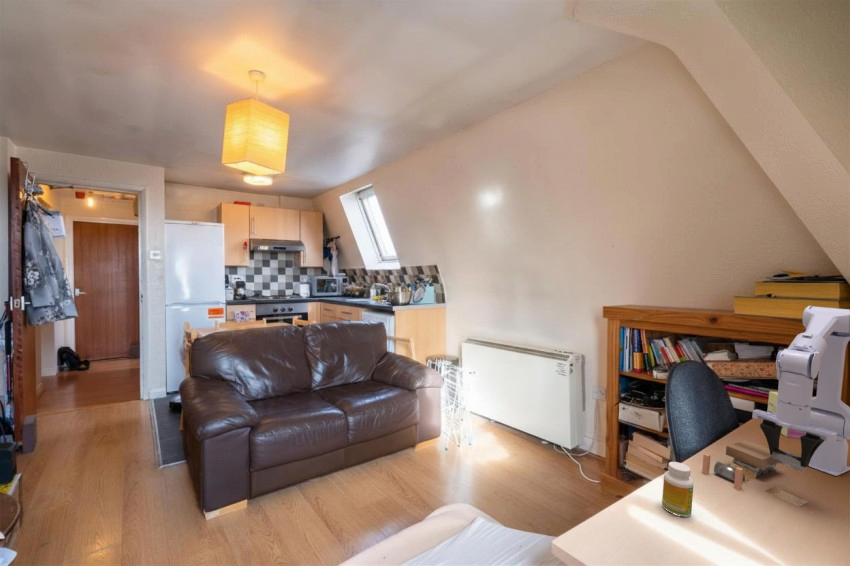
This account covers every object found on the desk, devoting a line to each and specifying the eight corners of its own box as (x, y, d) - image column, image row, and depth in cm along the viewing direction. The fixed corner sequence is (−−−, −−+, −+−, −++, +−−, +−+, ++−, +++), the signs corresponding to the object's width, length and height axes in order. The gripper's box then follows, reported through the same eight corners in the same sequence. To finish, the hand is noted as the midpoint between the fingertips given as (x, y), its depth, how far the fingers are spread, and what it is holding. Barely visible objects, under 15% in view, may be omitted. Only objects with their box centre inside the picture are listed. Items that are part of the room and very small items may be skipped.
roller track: (752, 460, 109) (753, 449, 109) (830, 492, 95) (832, 479, 95) (712, 474, 101) (713, 462, 101) (791, 510, 87) (792, 496, 86)
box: (807, 439, 125) (811, 403, 124) (786, 437, 126) (790, 401, 125) (784, 426, 135) (788, 392, 134) (765, 424, 136) (768, 391, 135)
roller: (771, 461, 93) (772, 449, 93) (778, 459, 94) (779, 447, 94) (798, 472, 89) (799, 459, 88) (805, 469, 90) (806, 456, 90)
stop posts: (704, 472, 102) (706, 453, 102) (741, 489, 94) (743, 469, 94) (702, 473, 101) (703, 454, 101) (738, 490, 94) (740, 470, 94)
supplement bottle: (691, 521, 82) (695, 475, 81) (661, 511, 84) (664, 467, 84) (690, 508, 86) (694, 464, 86) (662, 499, 89) (665, 457, 89)
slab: (746, 448, 110) (746, 439, 110) (782, 461, 102) (782, 452, 102) (725, 454, 105) (726, 445, 105) (761, 469, 98) (762, 459, 98)
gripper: (747, 394, 95) (742, 448, 96) (828, 416, 82) (822, 479, 83) (762, 391, 99) (758, 444, 99) (843, 411, 86) (837, 472, 86)
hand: (788, 459), depth 91 cm, fingers closed on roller, 5 cm apart
